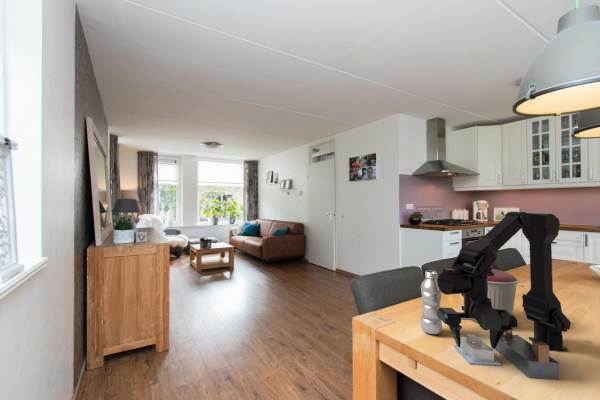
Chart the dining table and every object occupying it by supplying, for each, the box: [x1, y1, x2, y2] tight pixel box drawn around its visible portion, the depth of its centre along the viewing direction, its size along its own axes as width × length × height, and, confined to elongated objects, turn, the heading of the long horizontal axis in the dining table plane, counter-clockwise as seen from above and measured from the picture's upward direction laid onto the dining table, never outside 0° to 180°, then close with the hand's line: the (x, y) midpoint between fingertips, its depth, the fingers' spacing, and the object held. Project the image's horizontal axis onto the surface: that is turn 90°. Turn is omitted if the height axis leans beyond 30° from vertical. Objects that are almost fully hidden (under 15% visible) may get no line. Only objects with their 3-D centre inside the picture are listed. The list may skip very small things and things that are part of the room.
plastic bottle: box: [420, 269, 443, 335], centre depth 89 cm, size 6×7×20 cm
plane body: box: [494, 329, 560, 380], centre depth 73 cm, size 14×7×8 cm, turn 175°
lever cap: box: [460, 333, 495, 362], centre depth 76 cm, size 7×5×4 cm
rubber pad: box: [452, 344, 502, 367], centre depth 76 cm, size 9×8×1 cm
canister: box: [462, 264, 520, 323], centre depth 98 cm, size 18×18×21 cm
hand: (475, 347), depth 76 cm, fingers open, 9 cm apart
